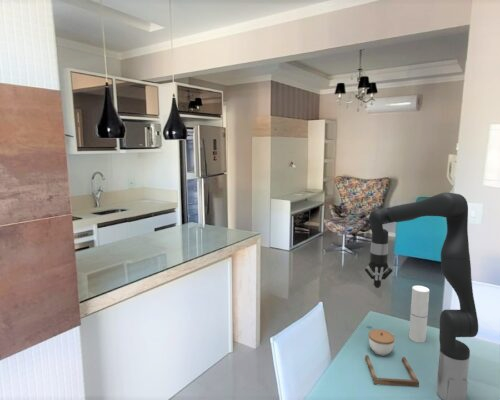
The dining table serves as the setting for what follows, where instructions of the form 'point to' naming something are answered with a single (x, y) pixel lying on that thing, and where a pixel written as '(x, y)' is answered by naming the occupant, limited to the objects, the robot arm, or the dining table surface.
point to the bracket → (396, 382)
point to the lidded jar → (381, 341)
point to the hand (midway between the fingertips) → (377, 287)
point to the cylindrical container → (419, 313)
